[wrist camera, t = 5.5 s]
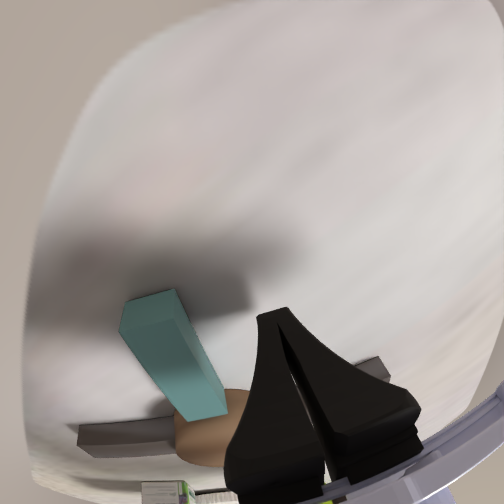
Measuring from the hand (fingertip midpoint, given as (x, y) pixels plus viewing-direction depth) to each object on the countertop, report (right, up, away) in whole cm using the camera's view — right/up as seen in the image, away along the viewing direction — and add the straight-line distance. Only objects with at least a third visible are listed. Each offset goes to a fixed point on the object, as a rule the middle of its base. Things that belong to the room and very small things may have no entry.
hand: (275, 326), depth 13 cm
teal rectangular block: (-5, -2, +2) cm, 6 cm away
